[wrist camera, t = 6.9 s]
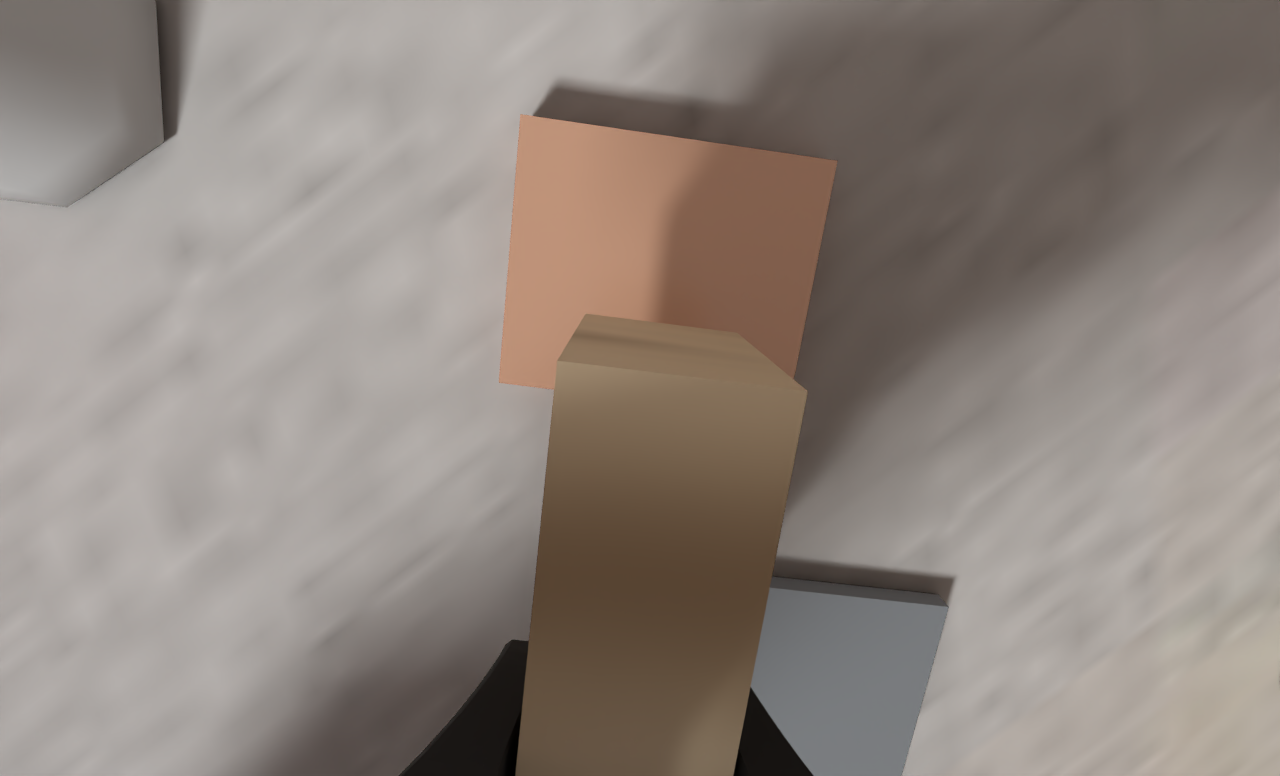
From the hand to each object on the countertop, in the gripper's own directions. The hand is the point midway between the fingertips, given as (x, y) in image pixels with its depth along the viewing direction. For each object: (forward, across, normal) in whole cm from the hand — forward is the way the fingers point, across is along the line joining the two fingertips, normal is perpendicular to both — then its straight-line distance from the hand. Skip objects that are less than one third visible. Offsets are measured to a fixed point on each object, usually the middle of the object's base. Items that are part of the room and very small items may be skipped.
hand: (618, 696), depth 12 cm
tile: (+5, 0, -5) cm, 7 cm away
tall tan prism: (+2, 0, -2) cm, 3 cm away
